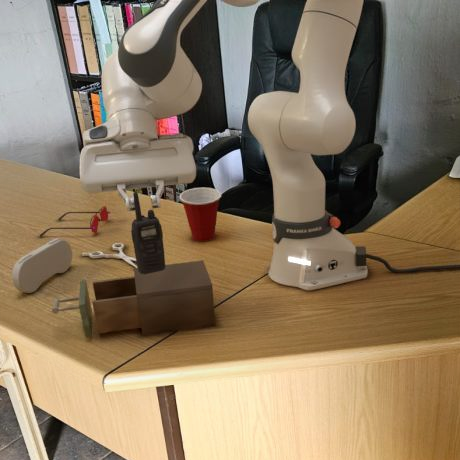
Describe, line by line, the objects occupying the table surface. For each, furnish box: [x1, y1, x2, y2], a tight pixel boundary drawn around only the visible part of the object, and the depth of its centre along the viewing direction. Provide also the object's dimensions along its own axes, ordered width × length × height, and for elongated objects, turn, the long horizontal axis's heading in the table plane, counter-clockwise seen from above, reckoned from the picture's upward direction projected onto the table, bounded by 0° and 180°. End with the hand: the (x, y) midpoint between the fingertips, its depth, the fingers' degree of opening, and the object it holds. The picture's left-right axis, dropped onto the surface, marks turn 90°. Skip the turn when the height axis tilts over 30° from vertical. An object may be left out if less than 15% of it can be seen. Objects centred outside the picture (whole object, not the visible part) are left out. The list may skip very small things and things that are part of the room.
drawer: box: [51, 275, 142, 339], centre depth 128 cm, size 19×11×7 cm, turn 100°
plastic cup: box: [179, 187, 222, 242], centre depth 167 cm, size 11×11×12 cm
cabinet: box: [133, 259, 216, 337], centre depth 130 cm, size 15×13×9 cm
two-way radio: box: [130, 191, 166, 275], centre depth 113 cm, size 6×4×15 cm
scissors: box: [81, 242, 138, 269], centre depth 160 cm, size 11×1×20 cm
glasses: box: [39, 205, 111, 238], centre depth 181 cm, size 14×16×5 cm
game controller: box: [11, 237, 73, 294], centre depth 150 cm, size 20×2×8 cm, turn 156°
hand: (143, 208), depth 111 cm, fingers closed on two-way radio, 3 cm apart
